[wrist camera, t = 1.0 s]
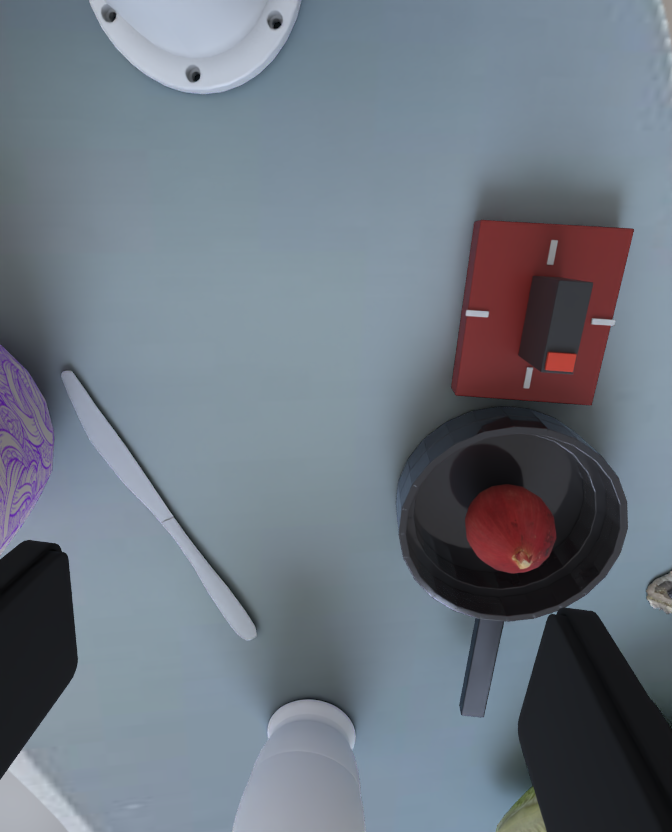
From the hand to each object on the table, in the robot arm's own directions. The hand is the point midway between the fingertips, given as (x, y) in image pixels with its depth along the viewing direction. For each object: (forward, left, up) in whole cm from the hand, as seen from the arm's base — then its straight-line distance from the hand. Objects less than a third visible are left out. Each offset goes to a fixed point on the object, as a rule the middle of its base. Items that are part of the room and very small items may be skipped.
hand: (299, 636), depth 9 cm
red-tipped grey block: (-4, +12, -24) cm, 27 cm away
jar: (+36, -1, -27) cm, 45 cm away
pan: (+10, +12, -26) cm, 31 cm away
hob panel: (-4, +12, -26) cm, 29 cm away
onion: (+10, +12, -26) cm, 31 cm away
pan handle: (+23, +12, -23) cm, 34 cm away
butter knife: (+14, -14, -27) cm, 33 cm away
